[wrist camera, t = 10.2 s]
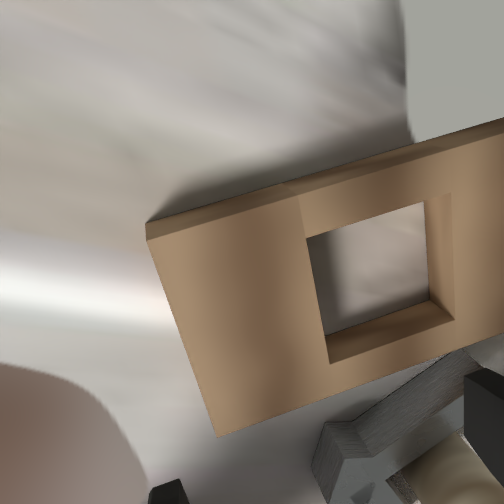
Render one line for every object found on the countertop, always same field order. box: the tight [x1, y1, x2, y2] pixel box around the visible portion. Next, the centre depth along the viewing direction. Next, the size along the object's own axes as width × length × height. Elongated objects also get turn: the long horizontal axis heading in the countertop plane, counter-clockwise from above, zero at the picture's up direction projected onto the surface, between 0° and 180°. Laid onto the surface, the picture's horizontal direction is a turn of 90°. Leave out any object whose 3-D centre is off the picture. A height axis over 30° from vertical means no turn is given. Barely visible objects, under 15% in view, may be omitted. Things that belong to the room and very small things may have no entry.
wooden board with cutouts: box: [145, 117, 504, 438], centre depth 20 cm, size 18×10×2 cm, turn 103°
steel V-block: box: [311, 348, 484, 504], centre depth 25 cm, size 8×13×2 cm, turn 168°
